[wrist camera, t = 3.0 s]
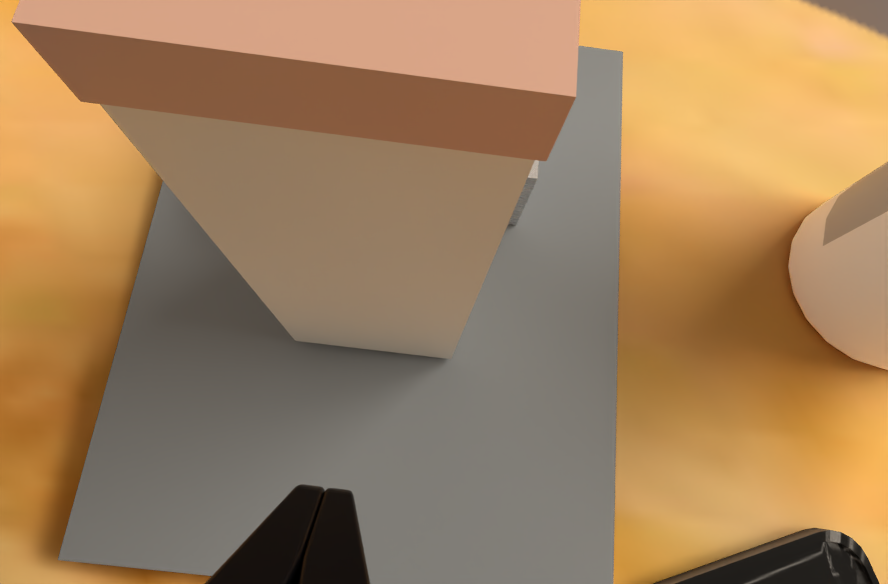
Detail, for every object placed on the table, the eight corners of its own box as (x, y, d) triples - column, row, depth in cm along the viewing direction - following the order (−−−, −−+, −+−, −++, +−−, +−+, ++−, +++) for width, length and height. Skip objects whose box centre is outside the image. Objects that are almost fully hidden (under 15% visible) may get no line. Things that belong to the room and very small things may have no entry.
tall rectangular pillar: (453, 362, 19) (576, 96, 5) (291, 343, 19) (11, 21, 5) (468, 215, 20) (593, -272, 7) (319, 196, 20) (155, -340, 7)
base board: (601, 610, 18) (612, 617, 17) (76, 555, 18) (57, 559, 17) (614, 68, 24) (622, 51, 23) (221, 15, 24) (214, -4, 23)
